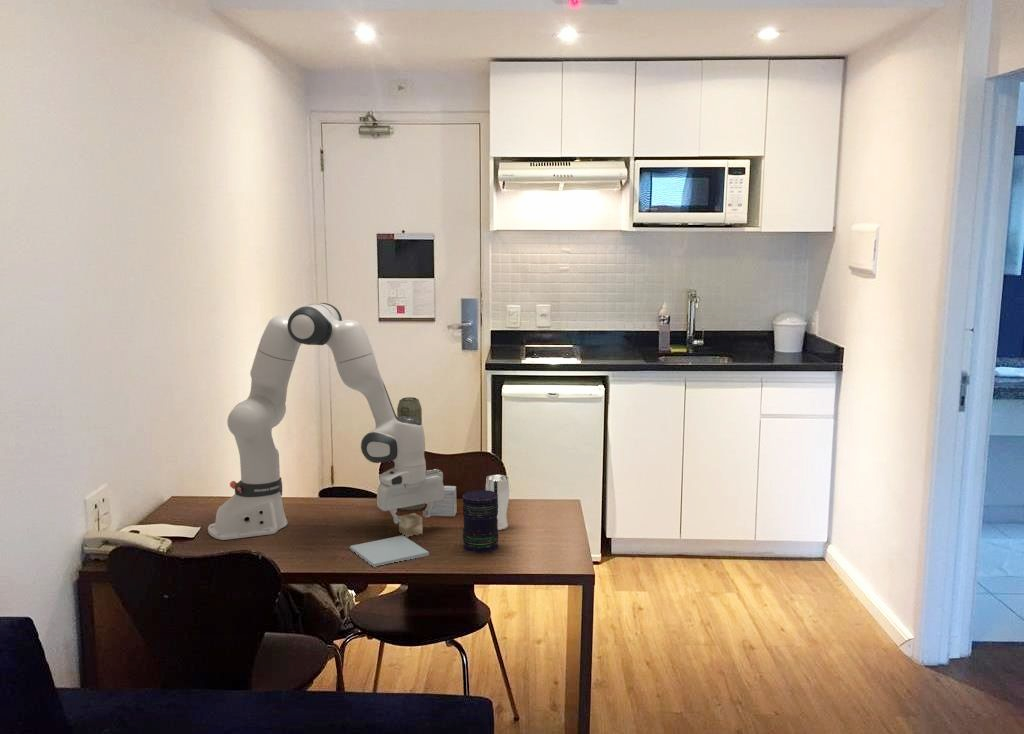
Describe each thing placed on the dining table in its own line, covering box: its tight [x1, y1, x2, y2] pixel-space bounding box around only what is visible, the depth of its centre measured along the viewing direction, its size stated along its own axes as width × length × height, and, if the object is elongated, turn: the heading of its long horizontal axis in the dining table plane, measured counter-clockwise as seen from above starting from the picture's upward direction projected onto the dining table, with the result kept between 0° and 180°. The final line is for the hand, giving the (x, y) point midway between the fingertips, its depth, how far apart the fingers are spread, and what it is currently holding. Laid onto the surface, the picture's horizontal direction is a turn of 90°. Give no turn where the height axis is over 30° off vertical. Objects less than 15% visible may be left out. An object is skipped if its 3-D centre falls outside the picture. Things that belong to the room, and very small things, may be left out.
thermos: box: [396, 396, 426, 511], centre depth 277 cm, size 9×12×35 cm
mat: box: [349, 534, 430, 568], centre depth 240 cm, size 16×16×1 cm
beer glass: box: [485, 474, 510, 531], centre depth 260 cm, size 7×7×15 cm
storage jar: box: [462, 489, 499, 554], centre depth 243 cm, size 10×10×15 cm
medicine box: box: [430, 485, 458, 517], centre depth 272 cm, size 8×4×9 cm, turn 84°
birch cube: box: [398, 512, 424, 538], centre depth 255 cm, size 5×5×5 cm
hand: (412, 519), depth 255 cm, fingers open, 8 cm apart
